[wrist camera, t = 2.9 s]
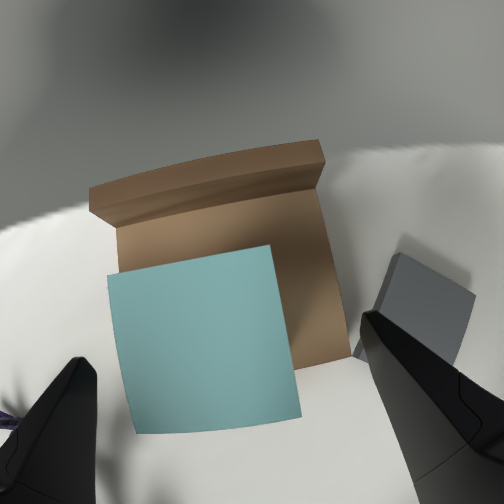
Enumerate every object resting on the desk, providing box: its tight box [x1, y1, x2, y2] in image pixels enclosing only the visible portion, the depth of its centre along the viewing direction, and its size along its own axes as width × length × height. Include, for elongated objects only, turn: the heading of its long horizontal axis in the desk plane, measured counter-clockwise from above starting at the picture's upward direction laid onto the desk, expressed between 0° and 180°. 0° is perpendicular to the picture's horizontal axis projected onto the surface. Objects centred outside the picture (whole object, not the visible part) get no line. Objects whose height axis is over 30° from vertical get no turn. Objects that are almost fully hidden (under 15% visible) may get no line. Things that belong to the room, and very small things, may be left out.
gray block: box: [352, 252, 476, 366], centre depth 16 cm, size 6×6×1 cm
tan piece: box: [89, 139, 352, 370], centre depth 14 cm, size 10×11×6 cm
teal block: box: [107, 245, 302, 434], centre depth 10 cm, size 4×4×8 cm
